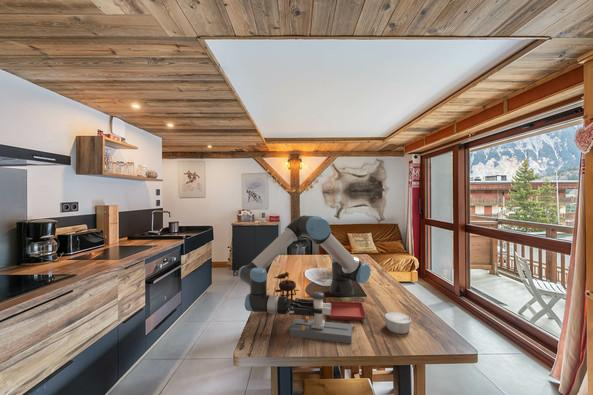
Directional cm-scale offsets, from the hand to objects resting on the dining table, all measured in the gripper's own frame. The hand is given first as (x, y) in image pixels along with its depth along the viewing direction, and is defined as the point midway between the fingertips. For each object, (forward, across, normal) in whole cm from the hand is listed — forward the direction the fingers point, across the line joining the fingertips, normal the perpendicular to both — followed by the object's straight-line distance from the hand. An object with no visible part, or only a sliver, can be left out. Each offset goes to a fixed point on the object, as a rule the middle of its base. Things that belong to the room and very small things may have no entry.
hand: (330, 309), depth 111 cm
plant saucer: (+6, -23, -12) cm, 26 cm away
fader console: (-4, 0, -11) cm, 12 cm away
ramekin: (+29, -12, -11) cm, 34 cm away
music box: (-25, -24, -11) cm, 36 cm away
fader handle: (-5, 0, -7) cm, 9 cm away
